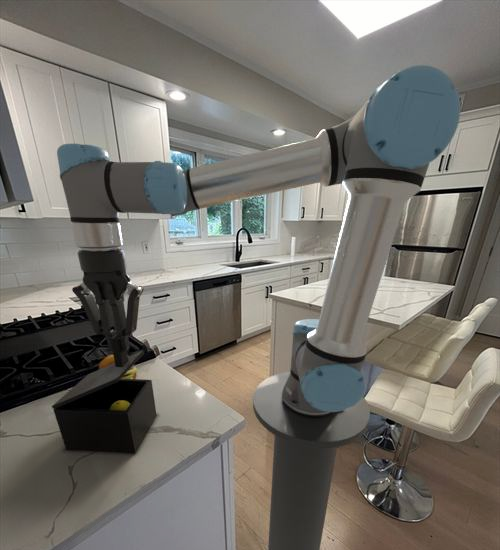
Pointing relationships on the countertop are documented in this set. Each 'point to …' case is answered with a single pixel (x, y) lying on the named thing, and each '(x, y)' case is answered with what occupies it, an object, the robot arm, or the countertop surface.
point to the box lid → (98, 380)
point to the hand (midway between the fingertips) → (122, 363)
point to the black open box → (108, 418)
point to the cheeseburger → (110, 360)
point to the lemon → (120, 405)
